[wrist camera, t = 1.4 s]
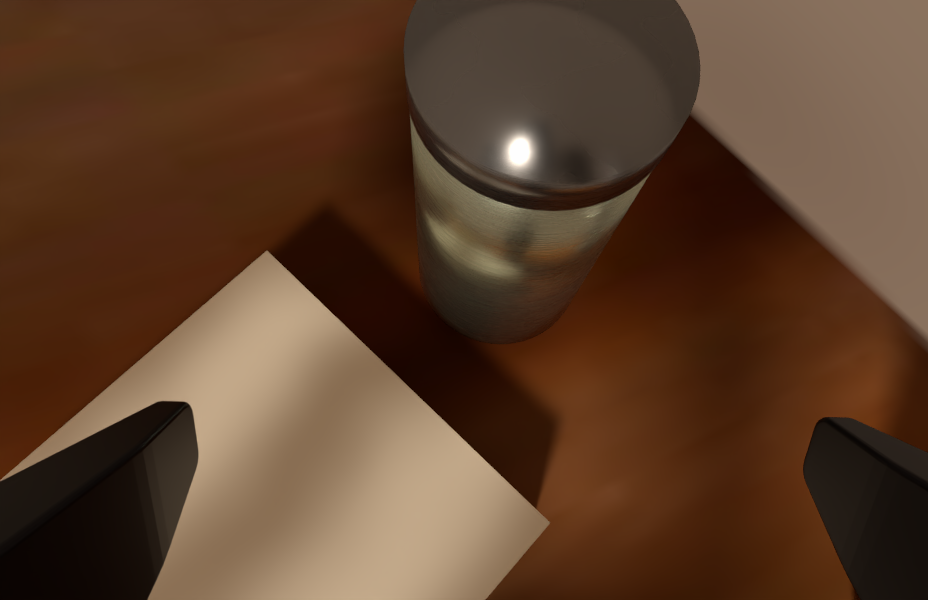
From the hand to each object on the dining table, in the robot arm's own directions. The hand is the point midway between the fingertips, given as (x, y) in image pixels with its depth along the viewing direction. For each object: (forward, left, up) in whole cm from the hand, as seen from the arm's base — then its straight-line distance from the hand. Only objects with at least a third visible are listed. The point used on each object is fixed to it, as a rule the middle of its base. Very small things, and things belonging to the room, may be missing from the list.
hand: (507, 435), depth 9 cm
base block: (+4, +5, -13) cm, 15 cm away
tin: (+5, -7, -13) cm, 16 cm away
